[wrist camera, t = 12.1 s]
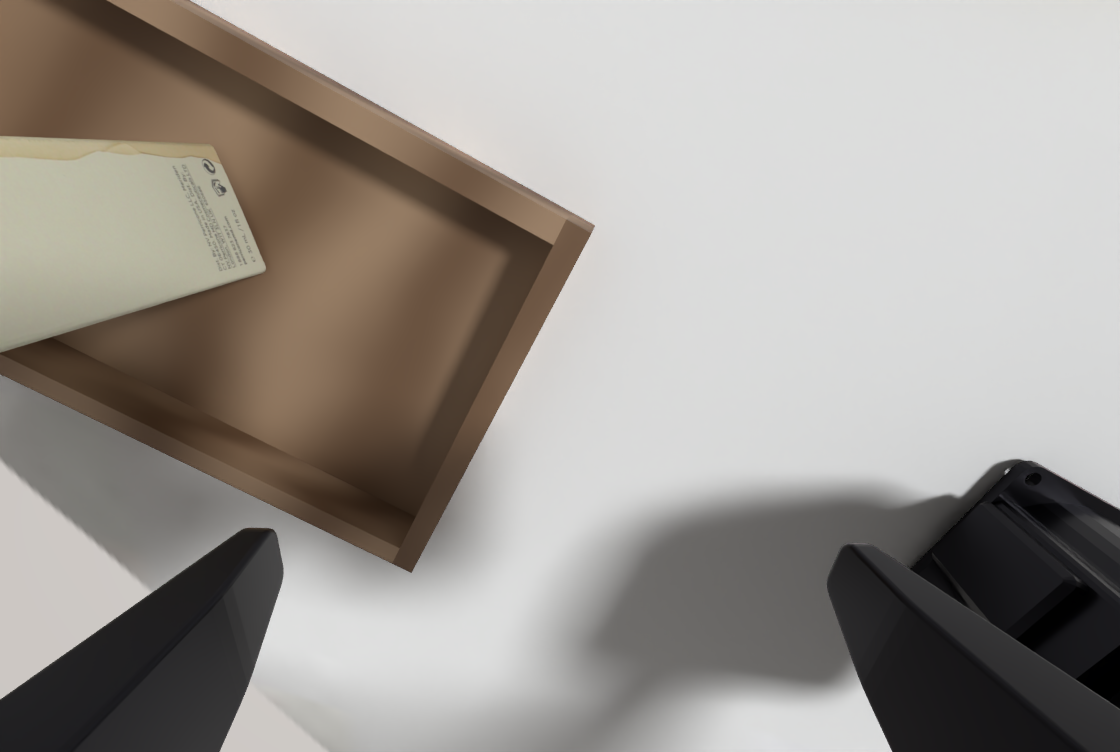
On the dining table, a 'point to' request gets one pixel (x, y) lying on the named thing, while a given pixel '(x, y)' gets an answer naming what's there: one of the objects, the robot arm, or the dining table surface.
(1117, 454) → the dining table surface
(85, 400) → the walnut tray
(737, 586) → the dining table surface
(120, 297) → the skincare box
